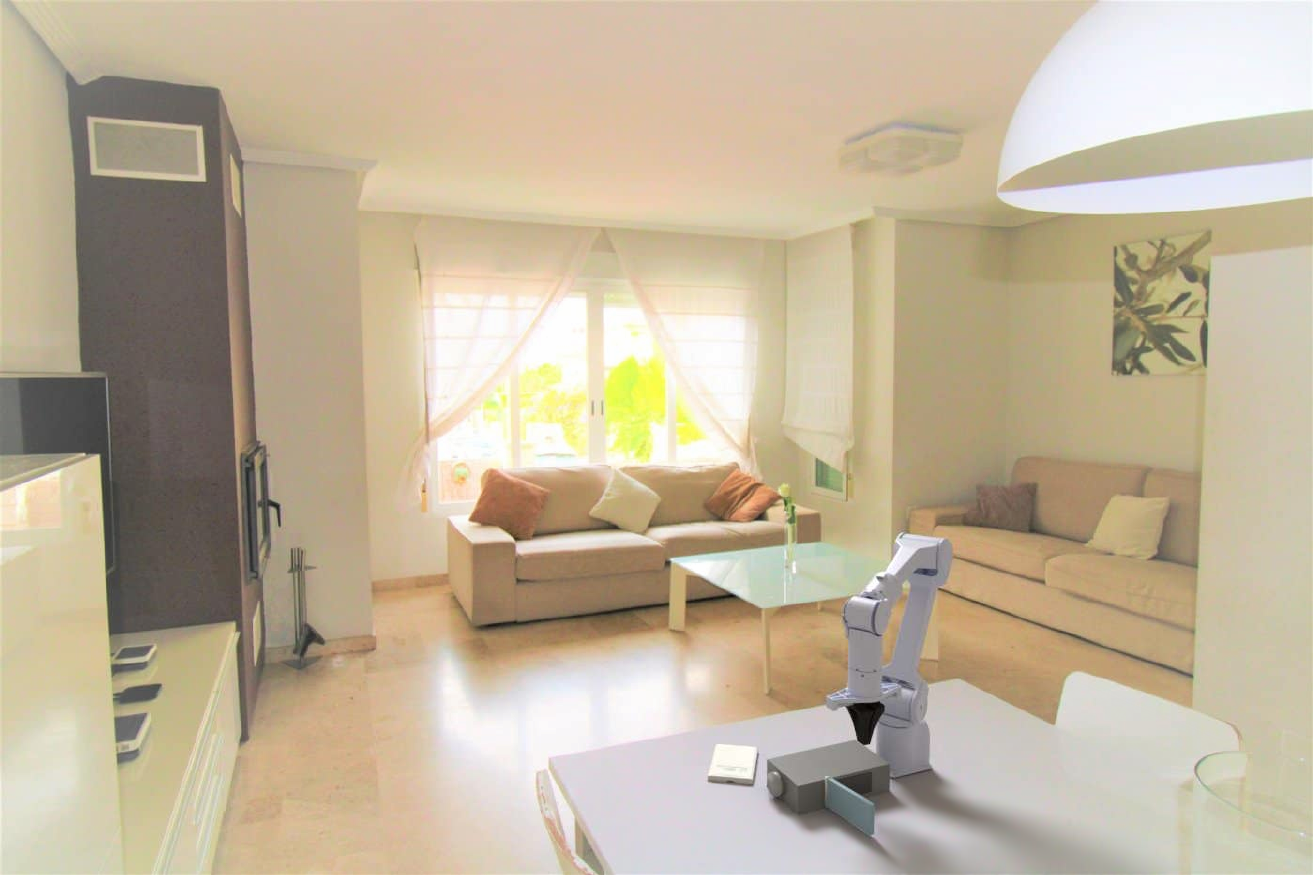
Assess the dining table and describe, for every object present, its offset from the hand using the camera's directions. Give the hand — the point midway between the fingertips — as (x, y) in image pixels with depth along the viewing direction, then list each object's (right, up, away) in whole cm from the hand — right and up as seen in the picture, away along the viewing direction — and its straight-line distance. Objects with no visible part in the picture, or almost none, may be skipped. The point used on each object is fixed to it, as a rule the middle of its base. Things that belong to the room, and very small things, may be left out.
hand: (863, 742), depth 138 cm
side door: (-5, -10, -8) cm, 13 cm away
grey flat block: (-6, -9, +3) cm, 11 cm away
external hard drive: (-22, -9, +11) cm, 26 cm away
